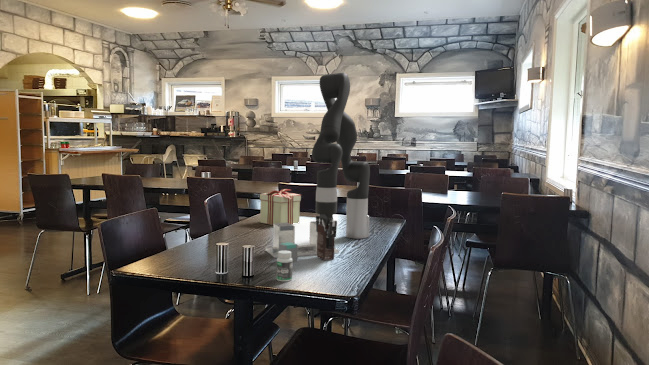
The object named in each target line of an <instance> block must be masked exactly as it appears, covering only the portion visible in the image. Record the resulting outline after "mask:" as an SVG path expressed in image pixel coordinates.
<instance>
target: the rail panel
mask: <svg viewBox="0 0 649 365" xmlns="http://www.w3.org/2000/svg"><path fill="white" fill-rule="evenodd" d="M272 226H273V230H272V231H273V232H272V233H273V235H272V236H273V237H272V238H273V240H272V242H273V244H272V246H270V247H266V248H265V252H266V253H268V254H269V255H270V256H272V257H273V258H275V259H277V258H278V251H279V244H281V243H288V242H290V243H295V242H296V240H295V238H296V237H295V236H296V232H295V231H296V226H295V225H294V224H292V225H291V224H289V223H274V224H273V225H272ZM317 235H318V232H317V231H316V220H315V221H314V220H313V221H310V222H309V244H299V245H298V244H297V257H303V256H304V257H305V256H317ZM295 244H296V243H295ZM339 253H340V249H337V248H336V247H334V254H339Z"/></svg>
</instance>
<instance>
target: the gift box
mask: <svg viewBox="0 0 649 365" xmlns="http://www.w3.org/2000/svg"><path fill="white" fill-rule="evenodd" d="M290 191H291V192H290ZM259 200H260V213H259V215H260V218H259V222H260V223H261V224H267V225H271V226H273V224H274V223H289V224H292V225H294V224H293V223H298V222H299V223H300V210H301V209H300V206H301V205H300V204H301V200H302V194H300V193H299V194H298V193H293V192H292V189H288V188H282V189H281V190H272V191H269V192H266V193H265V192H264V193H260V194H259ZM299 223H298V224H299Z"/></svg>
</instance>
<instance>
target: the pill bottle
mask: <svg viewBox="0 0 649 365" xmlns="http://www.w3.org/2000/svg"><path fill="white" fill-rule="evenodd" d="M292 261H293V260H292V258H291V251H286V250H283V251H278V258H276V269H275V270H276V274H275V276H276V278H275V279H276V280H277V281H278V282H283V283H284V282H291V281H292V279H293V262H292Z"/></svg>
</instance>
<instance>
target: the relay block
mask: <svg viewBox="0 0 649 365" xmlns="http://www.w3.org/2000/svg"><path fill="white" fill-rule="evenodd" d="M297 245H298V243H290V242H288V243H281V244H279V251H283V250H286V251H291V258H292V260H293V261H292V263H298V256H297Z"/></svg>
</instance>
